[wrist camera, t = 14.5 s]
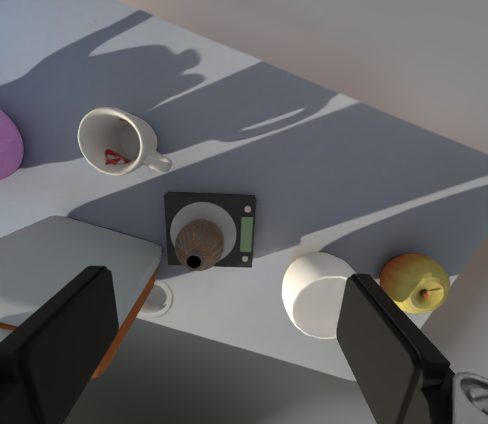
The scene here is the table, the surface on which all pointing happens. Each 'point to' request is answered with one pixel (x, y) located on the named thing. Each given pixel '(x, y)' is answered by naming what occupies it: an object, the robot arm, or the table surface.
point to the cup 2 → (315, 293)
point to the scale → (219, 212)
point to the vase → (199, 245)
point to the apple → (415, 282)
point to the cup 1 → (119, 142)
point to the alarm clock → (72, 270)
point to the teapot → (9, 146)
